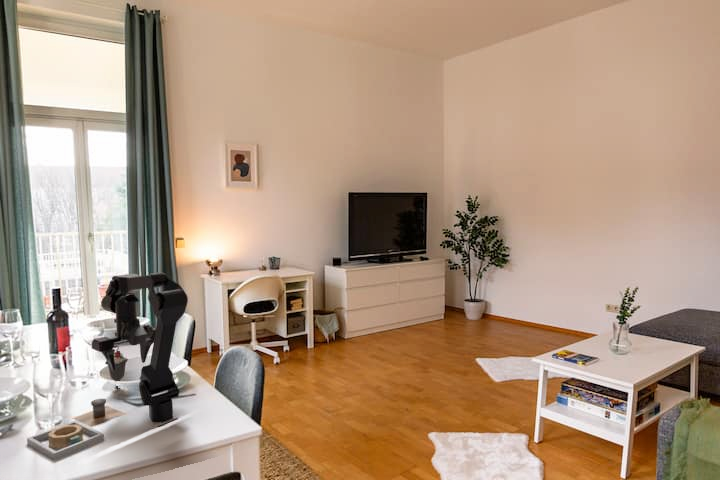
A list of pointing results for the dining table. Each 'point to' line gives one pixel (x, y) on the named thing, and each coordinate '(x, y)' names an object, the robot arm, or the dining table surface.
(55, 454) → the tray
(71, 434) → the ring
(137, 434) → the dining table surface
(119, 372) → the sundae
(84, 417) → the wooden peg base
